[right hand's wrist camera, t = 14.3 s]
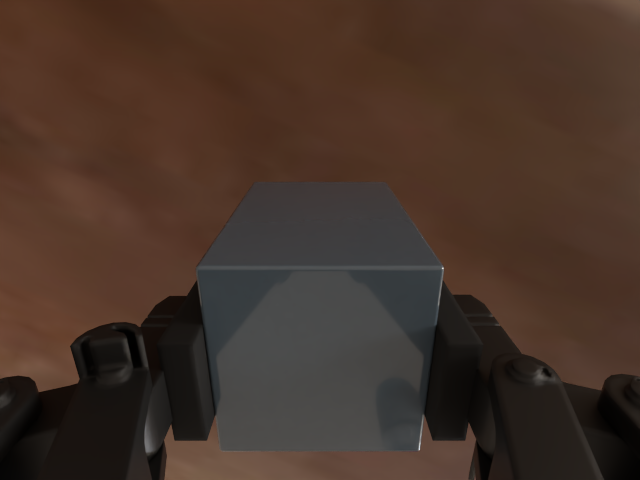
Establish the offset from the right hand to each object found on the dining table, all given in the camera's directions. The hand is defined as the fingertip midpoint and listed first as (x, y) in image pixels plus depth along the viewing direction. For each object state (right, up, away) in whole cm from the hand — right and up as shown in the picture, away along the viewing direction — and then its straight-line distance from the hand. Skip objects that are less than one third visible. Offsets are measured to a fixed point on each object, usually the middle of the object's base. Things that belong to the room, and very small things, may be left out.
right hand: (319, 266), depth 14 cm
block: (0, +1, +2) cm, 2 cm away
